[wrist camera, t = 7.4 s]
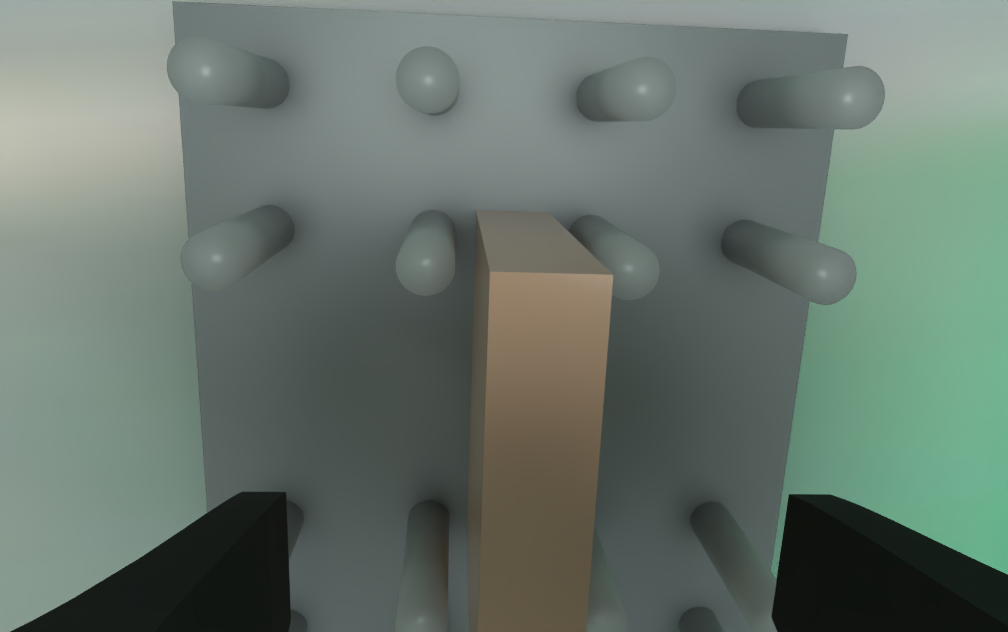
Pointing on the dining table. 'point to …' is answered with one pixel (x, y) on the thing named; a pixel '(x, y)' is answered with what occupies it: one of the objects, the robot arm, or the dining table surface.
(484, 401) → the tall tan block
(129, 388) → the dining table surface
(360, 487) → the dish rack
